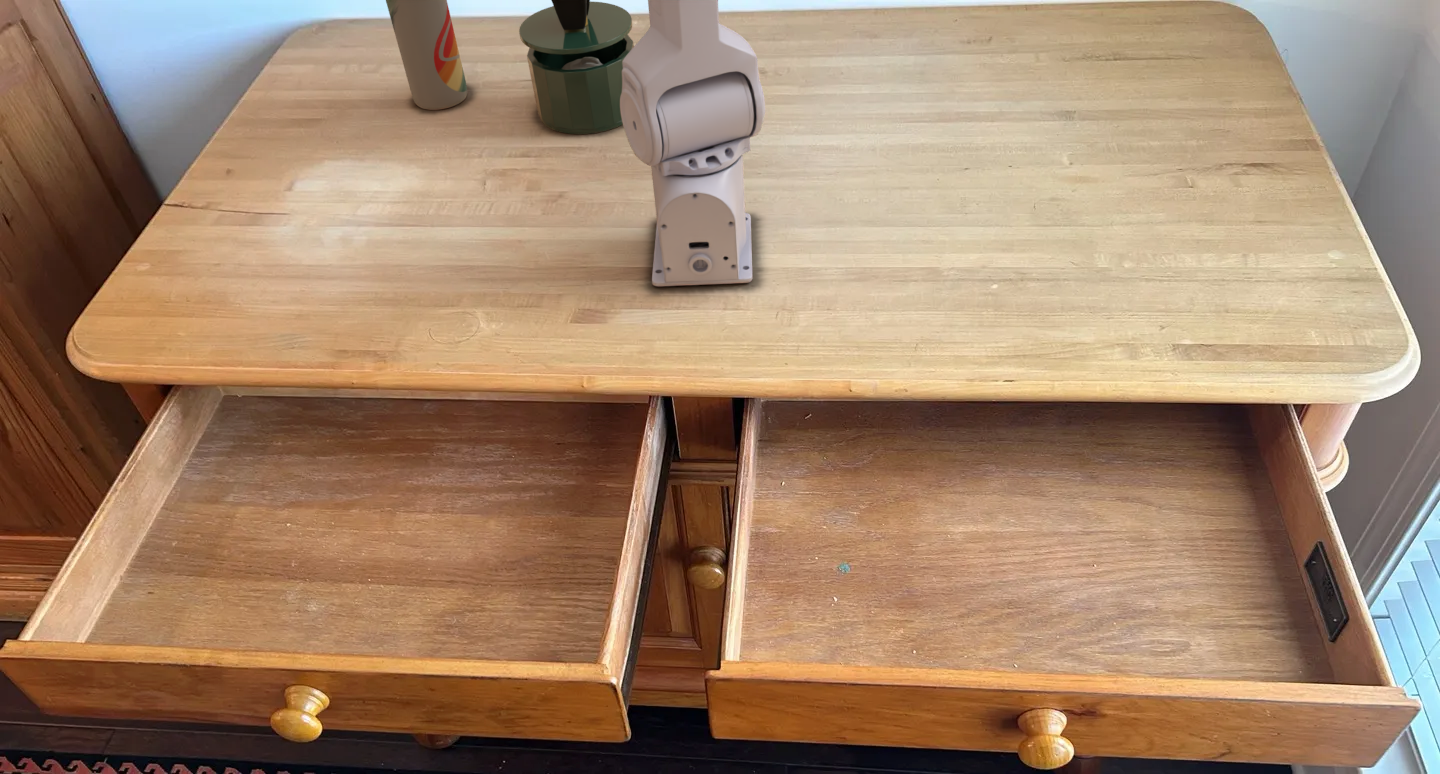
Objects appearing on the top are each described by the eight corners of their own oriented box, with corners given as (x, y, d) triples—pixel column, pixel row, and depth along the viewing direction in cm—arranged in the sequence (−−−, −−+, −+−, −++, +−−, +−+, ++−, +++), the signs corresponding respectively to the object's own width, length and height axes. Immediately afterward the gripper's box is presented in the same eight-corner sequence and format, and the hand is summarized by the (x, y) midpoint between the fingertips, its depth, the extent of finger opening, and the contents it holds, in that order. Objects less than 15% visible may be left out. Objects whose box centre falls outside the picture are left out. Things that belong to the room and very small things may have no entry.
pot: (636, 131, 103) (628, 69, 98) (532, 136, 103) (520, 74, 99) (642, 83, 110) (635, 23, 106) (545, 88, 111) (535, 28, 106)
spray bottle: (479, 89, 111) (433, -111, 98) (447, 114, 107) (395, -90, 94) (435, 82, 113) (384, -116, 100) (402, 106, 109) (345, -96, 96)
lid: (629, 57, 97) (623, 8, 94) (513, 63, 98) (503, 15, 94) (636, 9, 105) (631, -37, 102) (529, 15, 105) (521, -32, 102)
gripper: (519, -154, 97) (544, -8, 106) (493, -101, 86) (523, 57, 95) (595, -158, 96) (613, -11, 106) (579, -106, 86) (601, 53, 95)
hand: (576, 21), depth 100 cm, fingers closed on lid, 2 cm apart
